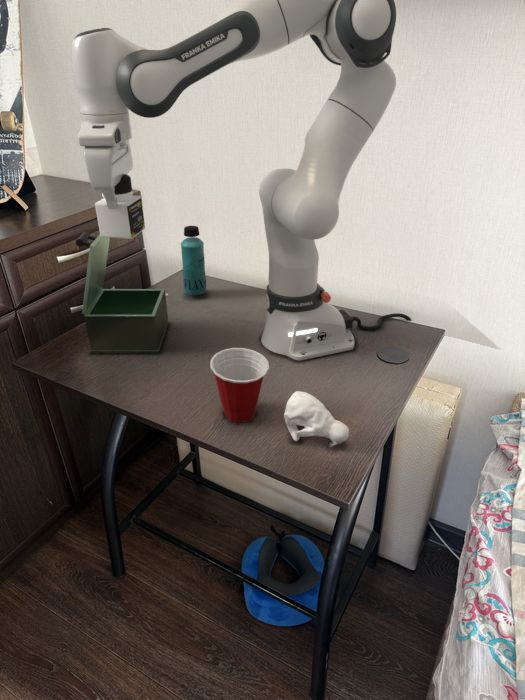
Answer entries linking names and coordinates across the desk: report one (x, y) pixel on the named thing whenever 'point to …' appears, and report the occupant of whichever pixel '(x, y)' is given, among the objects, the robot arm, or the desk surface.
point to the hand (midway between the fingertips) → (118, 202)
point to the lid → (94, 267)
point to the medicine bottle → (121, 213)
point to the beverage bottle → (193, 262)
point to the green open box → (127, 321)
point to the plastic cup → (239, 381)
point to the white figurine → (312, 419)
